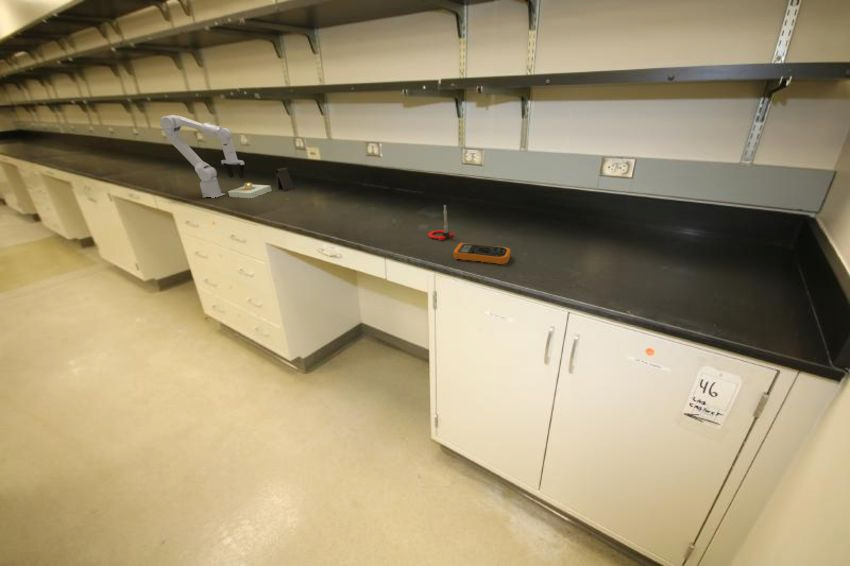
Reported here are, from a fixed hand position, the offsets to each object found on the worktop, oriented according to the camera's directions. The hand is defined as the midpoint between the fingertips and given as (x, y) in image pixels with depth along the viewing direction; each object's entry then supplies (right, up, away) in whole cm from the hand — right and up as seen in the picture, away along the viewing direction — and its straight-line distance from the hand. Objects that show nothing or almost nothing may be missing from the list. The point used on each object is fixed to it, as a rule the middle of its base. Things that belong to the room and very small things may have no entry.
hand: (236, 177), depth 205 cm
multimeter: (+125, -51, -82) cm, 158 cm away
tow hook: (+111, -41, -64) cm, 135 cm away
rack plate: (+6, -8, +5) cm, 11 cm away
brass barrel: (+6, -8, +4) cm, 11 cm away
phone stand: (+24, -4, +10) cm, 26 cm away
